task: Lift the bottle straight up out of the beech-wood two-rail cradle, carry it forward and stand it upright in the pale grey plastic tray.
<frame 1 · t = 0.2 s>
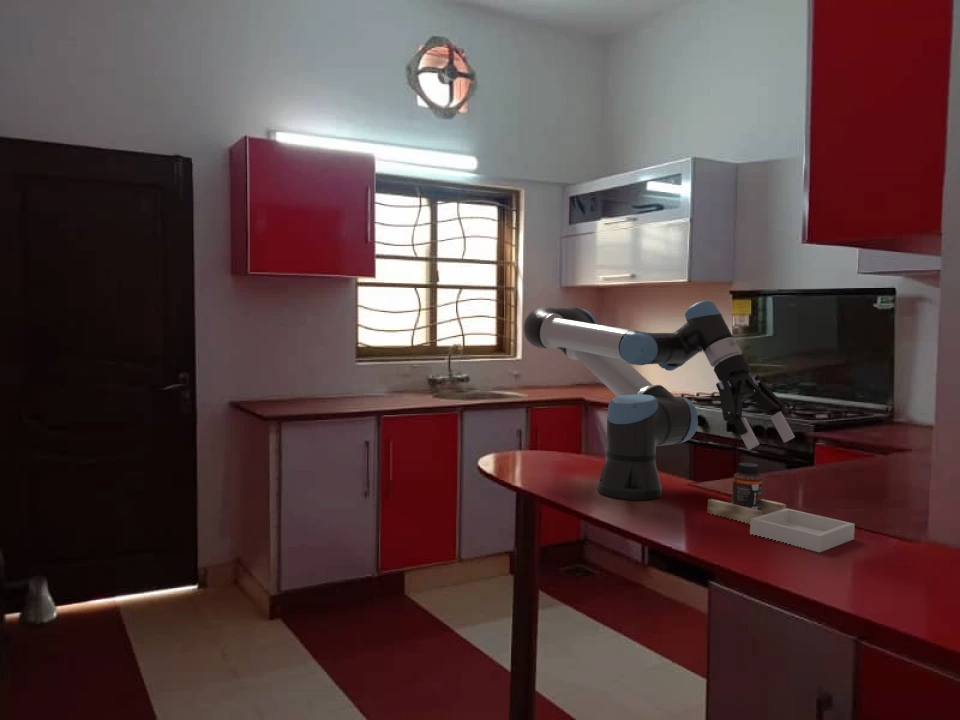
hand: (772, 443, 165), 15 cm above the counter, tool tilted 35°, fingers open, 13 cm apart
tray: (801, 536, 147), on the counter
cradle: (746, 515, 161), on the counter
supplement bottle: (746, 516, 161), resting in cradle
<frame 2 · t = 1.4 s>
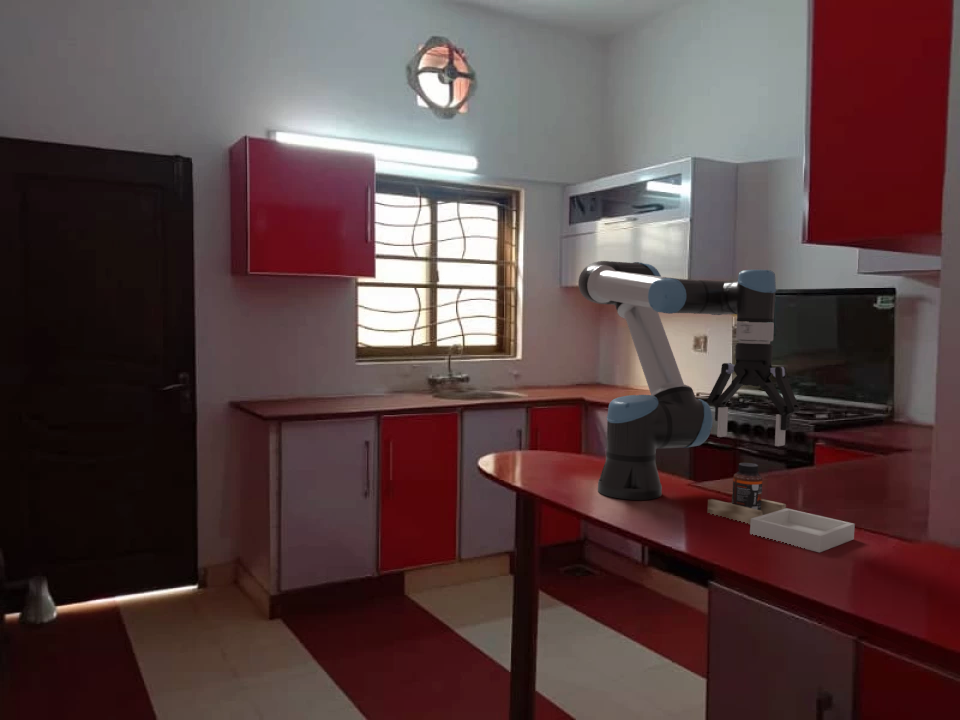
hand: (749, 441, 160), 16 cm above the counter, tool pointing down, fingers open, 13 cm apart
nothing on the counter moved.
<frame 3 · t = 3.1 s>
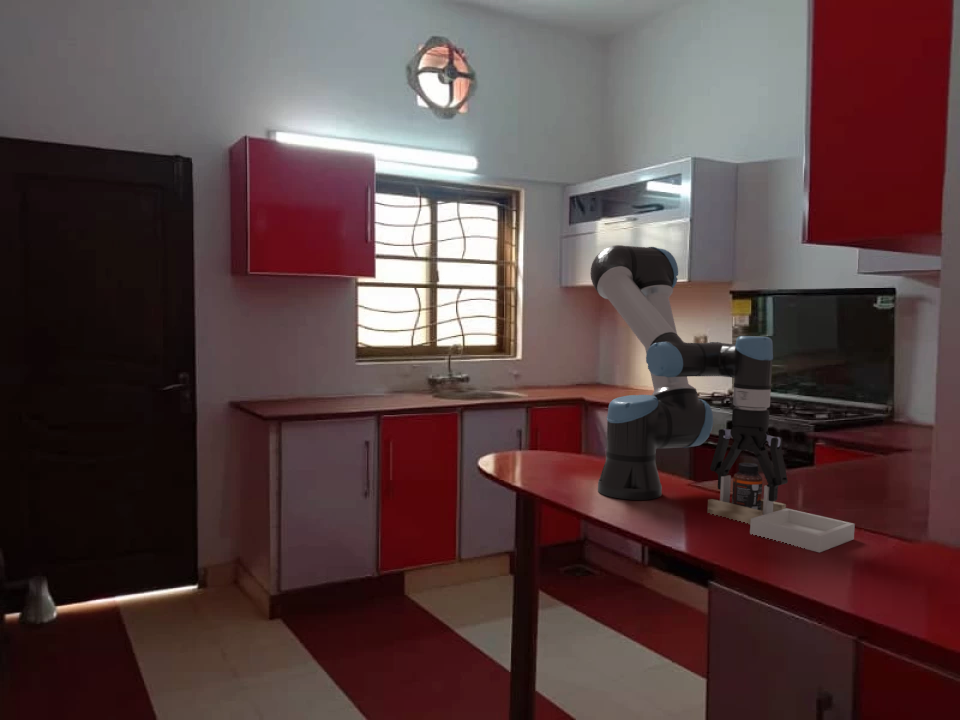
hand: (745, 510, 161), 1 cm above the counter, tool pointing down, fingers open, 10 cm apart
nothing on the counter moved.
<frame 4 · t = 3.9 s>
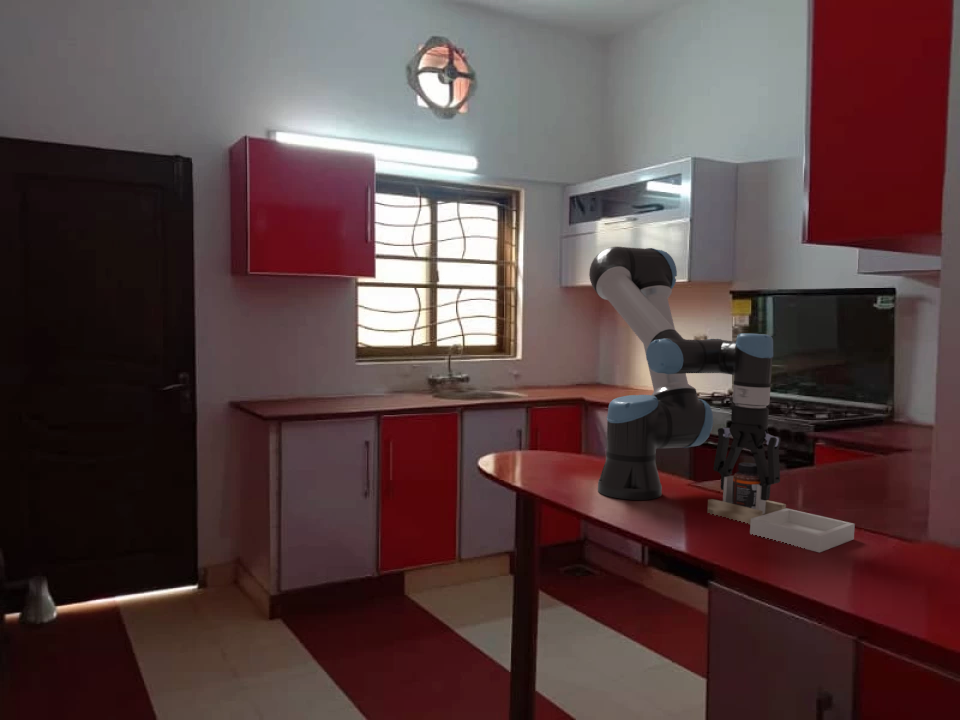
hand: (743, 509, 162), 1 cm above the counter, tool pointing down, fingers open, 7 cm apart
supplement bottle: (745, 516, 161), resting in cradle, touching gripper
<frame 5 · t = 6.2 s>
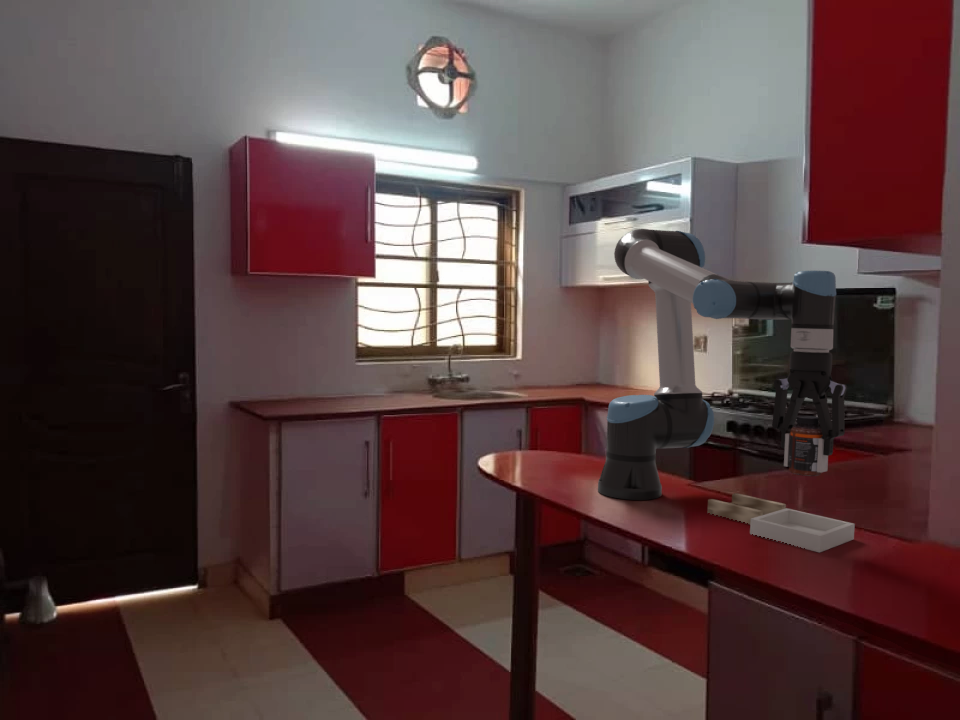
hand: (805, 468, 146), 14 cm above the counter, tool pointing down, fingers closed on supplement bottle, 6 cm apart
supplement bottle: (804, 474, 146), point 12 cm above the counter, touching gripper
when the fingers open (3 cm above the counter, at t = 8.3 s): supplement bottle drops 1 cm, resting on tray.
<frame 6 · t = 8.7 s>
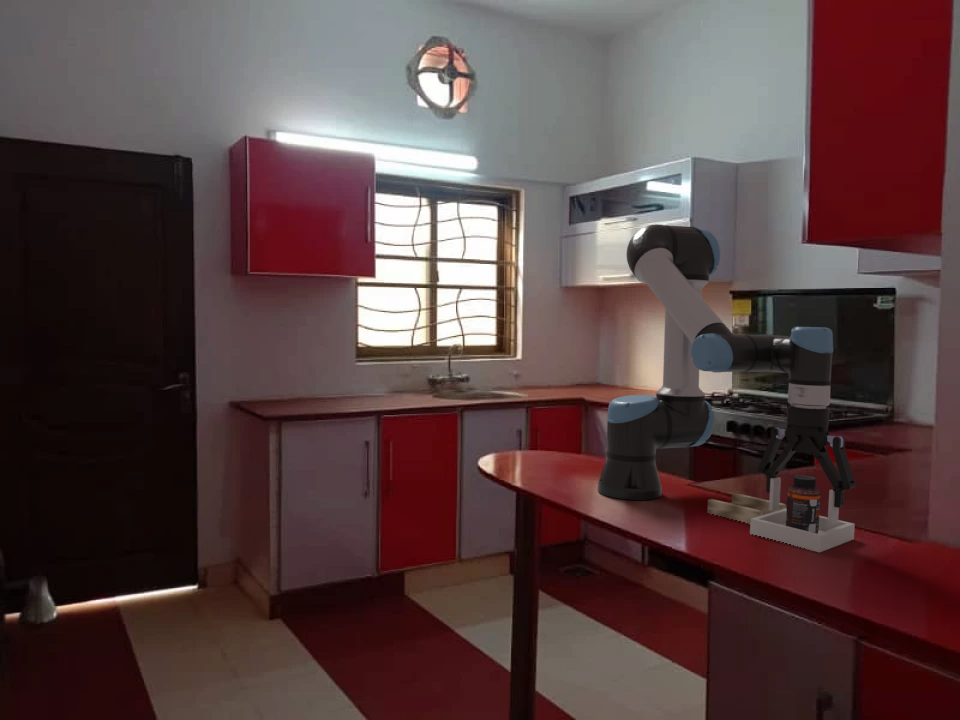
hand: (802, 516, 146), 4 cm above the counter, tool pointing down, fingers open, 11 cm apart
supplement bottle: (801, 534, 146), resting on tray
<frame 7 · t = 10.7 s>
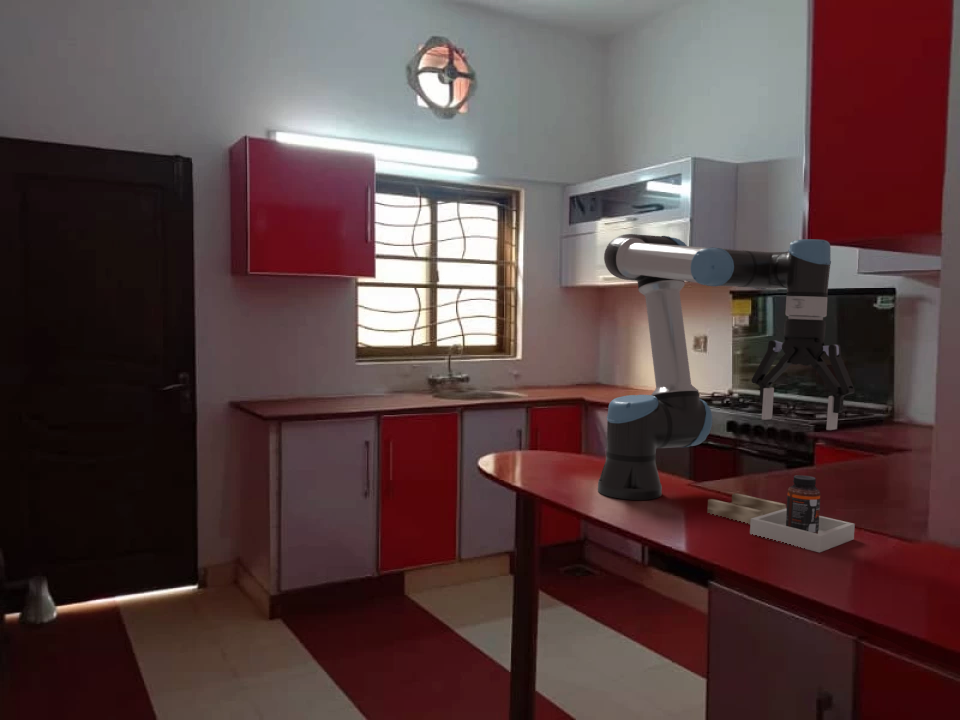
hand: (798, 424, 149), 22 cm above the counter, tool pointing down, fingers open, 13 cm apart
nothing on the counter moved.
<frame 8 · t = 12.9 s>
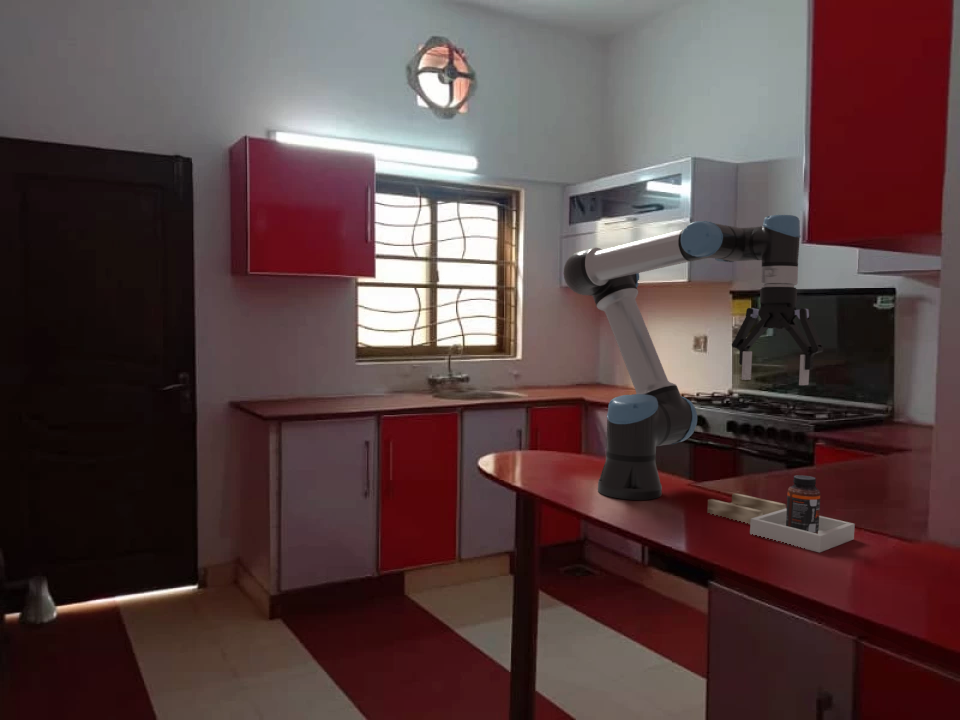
hand: (774, 382, 165), 29 cm above the counter, tool pointing down, fingers open, 13 cm apart
nothing on the counter moved.
at the end: supplement bottle inside the target area on the tray (0.1 cm from its centre), point 0.4 cm above the tray's base; supplement bottle tilted 0°; the gripper is holding nothing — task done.
